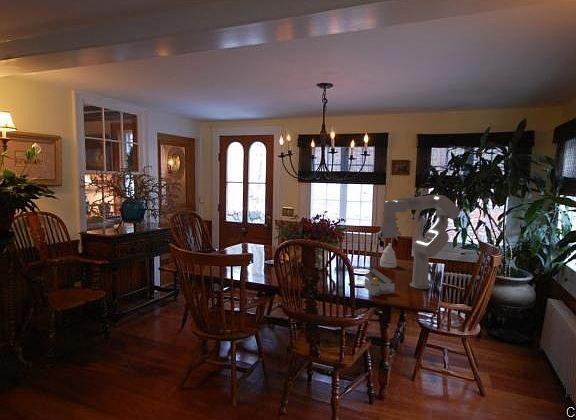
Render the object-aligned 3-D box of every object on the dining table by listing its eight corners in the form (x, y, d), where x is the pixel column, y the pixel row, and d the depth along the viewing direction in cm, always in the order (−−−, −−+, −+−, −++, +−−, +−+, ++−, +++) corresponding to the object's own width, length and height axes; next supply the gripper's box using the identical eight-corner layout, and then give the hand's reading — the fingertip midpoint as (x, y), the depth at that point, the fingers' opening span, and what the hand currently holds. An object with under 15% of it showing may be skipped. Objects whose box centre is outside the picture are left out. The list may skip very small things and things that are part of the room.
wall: (384, 287, 256) (369, 271, 260) (392, 280, 251) (377, 264, 255) (374, 297, 243) (358, 279, 248) (382, 290, 238) (366, 272, 243)
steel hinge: (383, 286, 245) (384, 277, 245) (396, 294, 229) (397, 285, 229) (360, 287, 242) (360, 278, 241) (371, 296, 226) (372, 286, 225)
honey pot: (381, 263, 310) (383, 241, 308) (397, 265, 304) (398, 243, 303) (378, 266, 299) (379, 244, 297) (394, 268, 293) (395, 246, 291)
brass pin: (375, 293, 231) (376, 277, 230) (378, 294, 228) (379, 278, 227) (370, 293, 231) (371, 277, 230) (373, 294, 228) (374, 279, 227)
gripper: (398, 219, 241) (397, 245, 243) (374, 219, 237) (373, 245, 239) (404, 220, 234) (403, 247, 235) (379, 221, 229) (378, 248, 231)
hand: (388, 246), depth 237 cm, fingers open, 9 cm apart
